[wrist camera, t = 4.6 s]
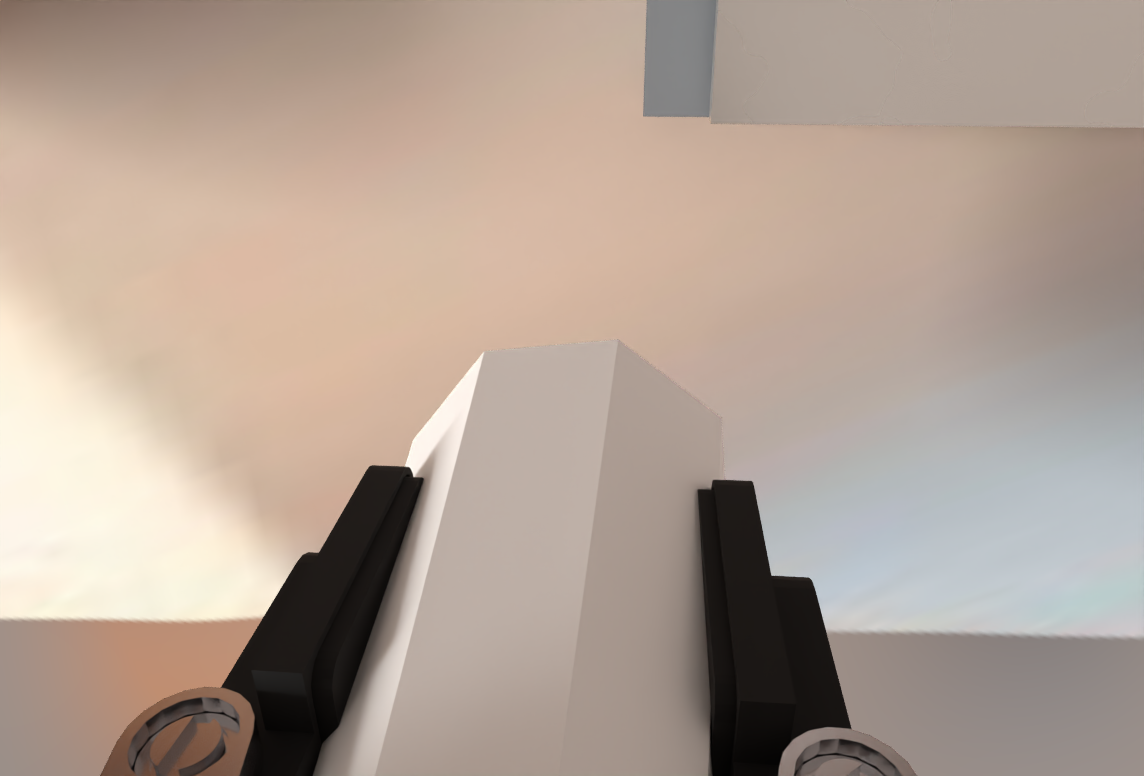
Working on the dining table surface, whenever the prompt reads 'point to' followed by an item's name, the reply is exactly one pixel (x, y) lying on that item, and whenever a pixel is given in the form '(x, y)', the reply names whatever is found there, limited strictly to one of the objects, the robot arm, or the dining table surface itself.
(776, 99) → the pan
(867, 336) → the dining table surface
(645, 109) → the scale base
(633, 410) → the pepper shaker
